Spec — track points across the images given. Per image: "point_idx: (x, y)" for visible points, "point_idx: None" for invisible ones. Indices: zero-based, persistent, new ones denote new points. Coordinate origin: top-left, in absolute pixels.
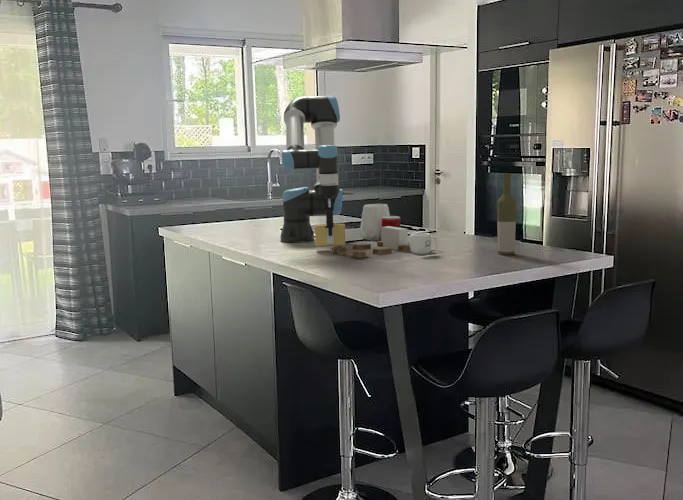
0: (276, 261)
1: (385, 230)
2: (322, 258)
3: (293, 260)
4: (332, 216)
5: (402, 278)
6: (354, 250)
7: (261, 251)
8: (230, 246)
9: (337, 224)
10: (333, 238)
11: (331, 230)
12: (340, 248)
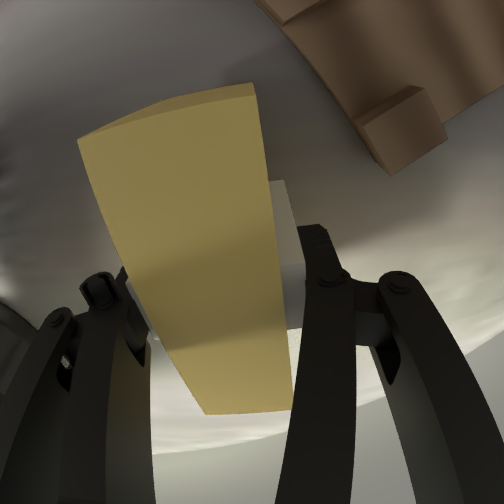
0: (467, 346)
1: None
2: (494, 214)
3: (479, 309)
4: (476, 394)
5: None
6: (362, 17)
7: (255, 413)
8: (170, 445)
9: (184, 237)
10: (288, 200)
11: (337, 261)
12: (440, 123)
